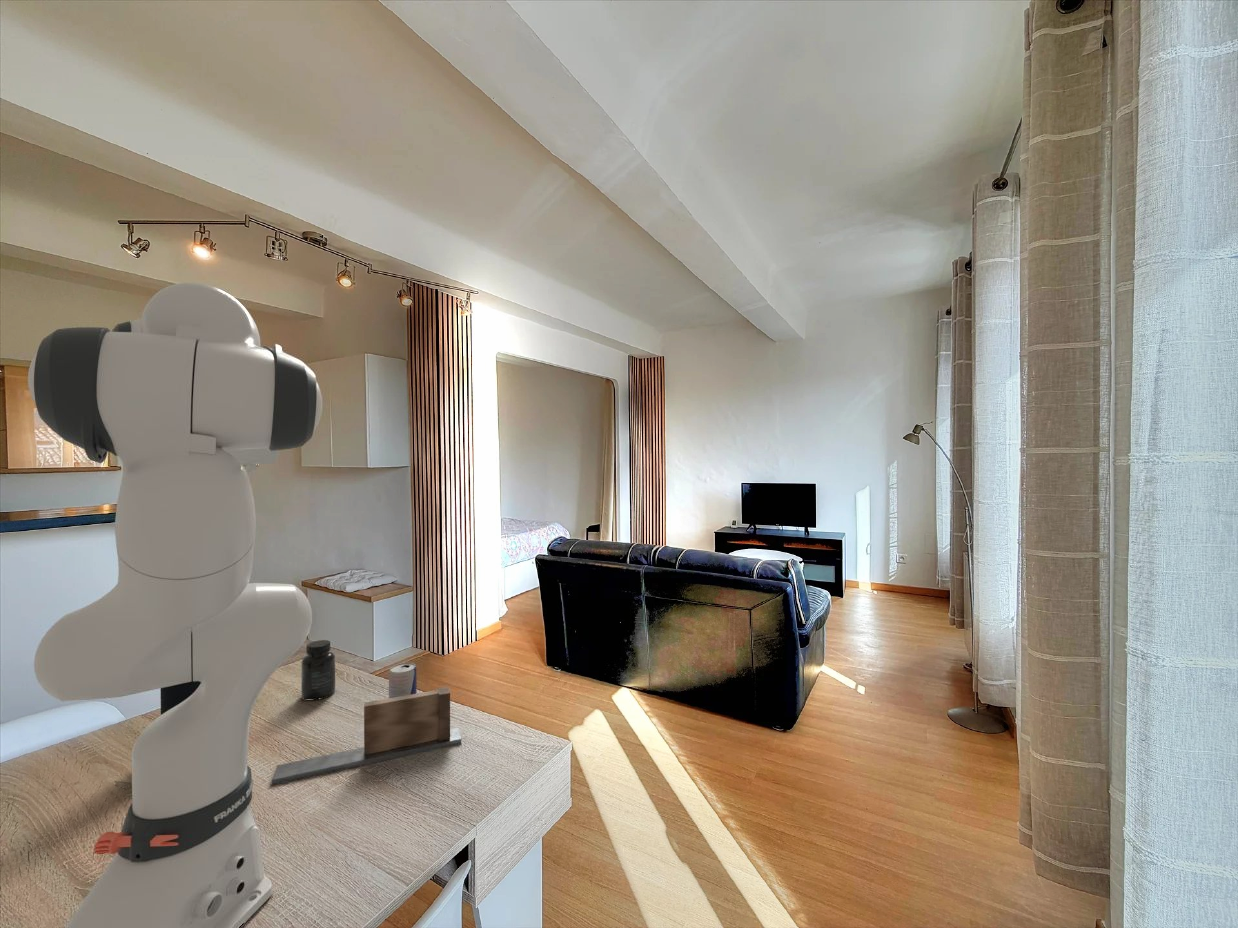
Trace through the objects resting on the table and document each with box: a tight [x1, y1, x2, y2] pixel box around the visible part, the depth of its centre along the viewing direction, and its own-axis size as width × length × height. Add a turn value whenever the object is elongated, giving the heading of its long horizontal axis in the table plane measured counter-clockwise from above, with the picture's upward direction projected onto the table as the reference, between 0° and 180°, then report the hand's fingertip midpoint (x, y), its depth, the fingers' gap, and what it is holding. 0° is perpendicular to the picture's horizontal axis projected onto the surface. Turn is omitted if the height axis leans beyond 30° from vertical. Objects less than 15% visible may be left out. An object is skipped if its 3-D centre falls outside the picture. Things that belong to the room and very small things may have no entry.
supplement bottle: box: [300, 639, 336, 700], centre depth 117 cm, size 7×7×12 cm
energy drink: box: [388, 662, 418, 699], centre depth 104 cm, size 5×5×12 cm
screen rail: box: [271, 727, 462, 786], centre depth 93 cm, size 31×4×1 cm, turn 114°
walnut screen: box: [363, 685, 451, 755], centre depth 96 cm, size 15×3×9 cm, turn 114°
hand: (211, 484), depth 93 cm, fingers open, 8 cm apart
